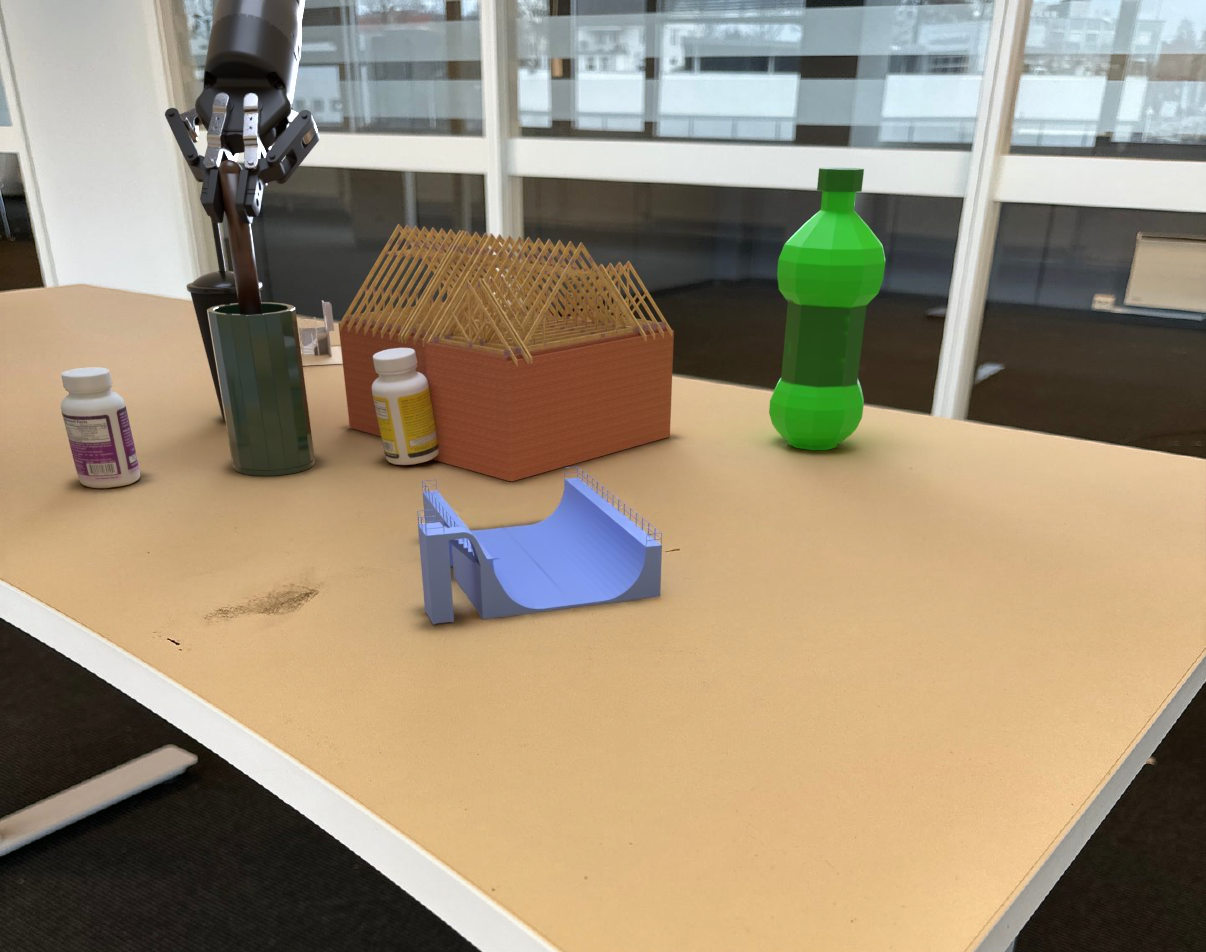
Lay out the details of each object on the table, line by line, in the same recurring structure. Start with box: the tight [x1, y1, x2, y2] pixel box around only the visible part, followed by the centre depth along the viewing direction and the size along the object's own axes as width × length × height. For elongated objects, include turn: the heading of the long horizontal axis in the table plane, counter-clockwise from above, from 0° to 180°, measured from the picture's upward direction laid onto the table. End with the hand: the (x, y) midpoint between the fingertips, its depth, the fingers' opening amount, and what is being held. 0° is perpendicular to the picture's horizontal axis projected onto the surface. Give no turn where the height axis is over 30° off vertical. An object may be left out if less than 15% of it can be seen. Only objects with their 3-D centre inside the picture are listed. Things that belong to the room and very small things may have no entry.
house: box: [338, 223, 675, 482], centre depth 114 cm, size 28×23×19 cm
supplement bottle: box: [372, 348, 439, 466], centre depth 107 cm, size 5×5×10 cm
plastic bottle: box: [768, 167, 886, 451], centre depth 110 cm, size 10×10×25 cm
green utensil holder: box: [207, 301, 315, 477], centre depth 104 cm, size 8×8×14 cm
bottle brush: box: [219, 160, 263, 314], centre depth 100 cm, size 4×4×20 cm
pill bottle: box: [60, 366, 141, 489], centre depth 100 cm, size 5×5×10 cm
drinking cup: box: [186, 219, 264, 422], centre depth 119 cm, size 8×8×20 cm
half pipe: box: [416, 466, 663, 626], centre depth 83 cm, size 18×16×7 cm
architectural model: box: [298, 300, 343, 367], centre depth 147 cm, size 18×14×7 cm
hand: (228, 215), depth 95 cm, fingers closed on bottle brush, 2 cm apart
